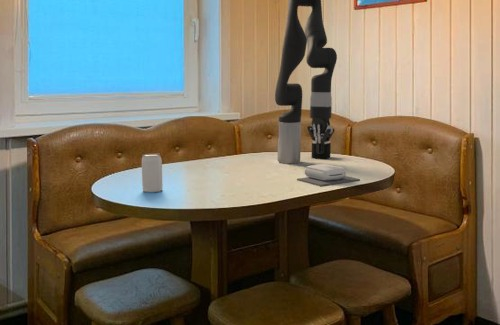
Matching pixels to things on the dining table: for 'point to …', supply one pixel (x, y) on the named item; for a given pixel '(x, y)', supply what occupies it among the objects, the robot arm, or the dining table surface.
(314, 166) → the photo printer
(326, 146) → the sushi
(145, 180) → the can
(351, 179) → the mat
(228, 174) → the dining table surface
